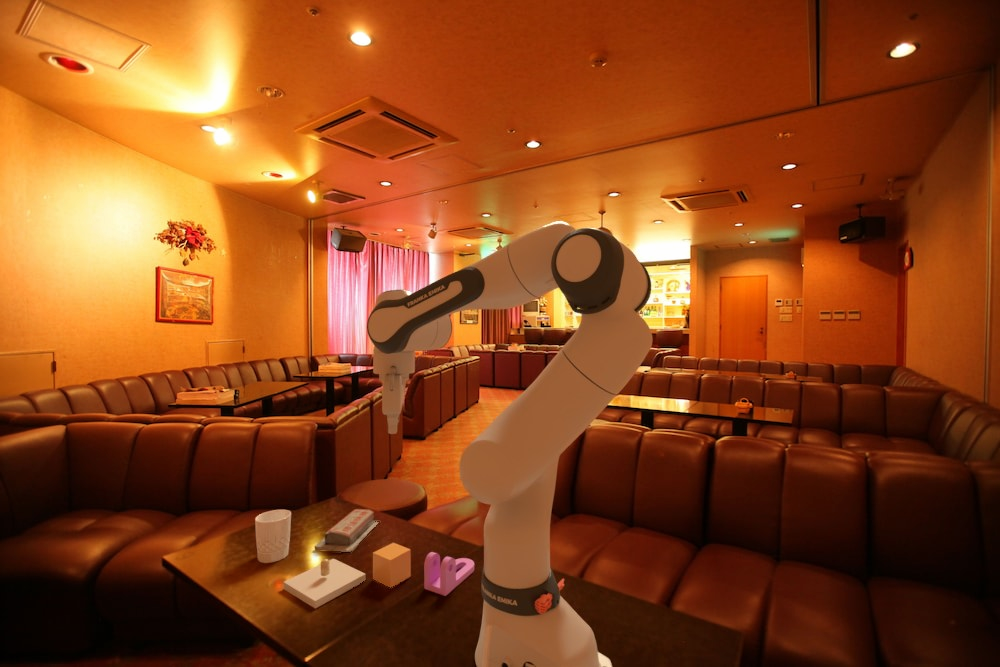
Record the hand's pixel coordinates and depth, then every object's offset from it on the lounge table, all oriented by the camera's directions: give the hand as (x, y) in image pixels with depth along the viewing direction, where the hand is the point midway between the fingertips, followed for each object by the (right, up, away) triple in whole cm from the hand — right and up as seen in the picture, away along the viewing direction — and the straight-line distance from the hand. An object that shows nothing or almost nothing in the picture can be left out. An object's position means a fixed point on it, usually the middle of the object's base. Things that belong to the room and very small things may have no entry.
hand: (393, 428), depth 94 cm
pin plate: (-15, -34, 0) cm, 37 cm away
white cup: (-33, -35, +13) cm, 49 cm away
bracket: (+13, -34, +2) cm, 36 cm away
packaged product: (-18, -35, +23) cm, 46 cm away
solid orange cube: (-1, -34, +2) cm, 34 cm away
